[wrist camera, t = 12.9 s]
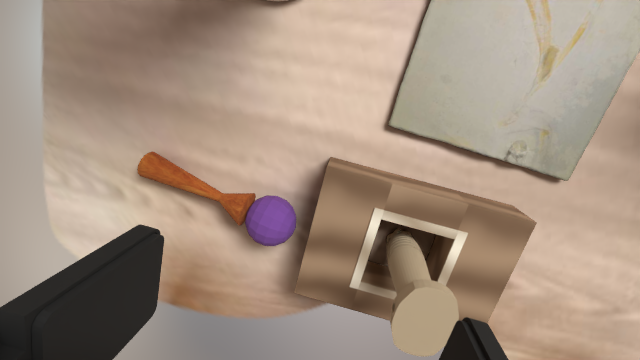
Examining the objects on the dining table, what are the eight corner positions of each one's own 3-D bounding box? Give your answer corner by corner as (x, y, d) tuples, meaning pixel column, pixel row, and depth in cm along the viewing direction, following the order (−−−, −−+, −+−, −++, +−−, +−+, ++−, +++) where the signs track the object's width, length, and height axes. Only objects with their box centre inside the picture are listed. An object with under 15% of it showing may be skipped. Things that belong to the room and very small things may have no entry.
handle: (426, 221, 38) (469, 297, 23) (409, 266, 40) (440, 363, 25) (388, 211, 38) (407, 280, 24) (373, 256, 40) (382, 346, 25)
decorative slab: (565, 179, 35) (577, 184, 33) (384, 131, 36) (386, 133, 34) (709, -106, 27) (735, -120, 26) (474, -158, 28) (483, -176, 26)
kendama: (139, 140, 35) (298, 212, 34) (170, 143, 41) (307, 204, 39) (122, 188, 36) (278, 261, 34) (155, 184, 42) (289, 246, 40)
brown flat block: (330, 157, 37) (326, 166, 32) (512, 205, 36) (537, 223, 31) (301, 270, 42) (293, 294, 37) (461, 315, 41) (476, 346, 36)
